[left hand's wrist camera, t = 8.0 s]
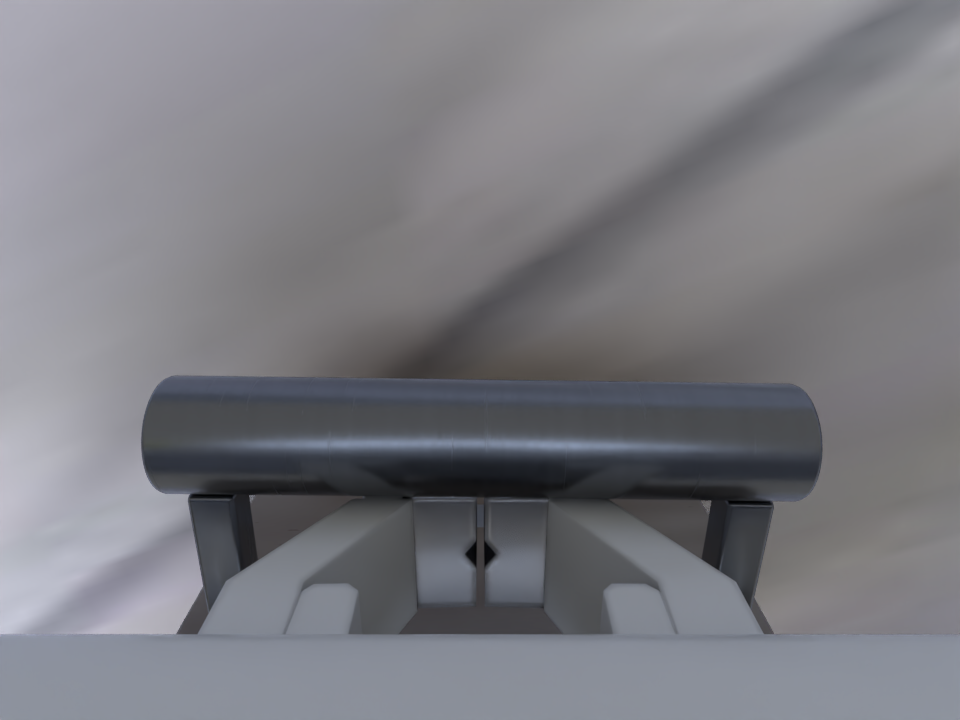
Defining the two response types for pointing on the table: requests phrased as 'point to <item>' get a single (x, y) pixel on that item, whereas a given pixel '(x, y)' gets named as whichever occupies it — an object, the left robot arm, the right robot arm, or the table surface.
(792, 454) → the drawer
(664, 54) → the table surface
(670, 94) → the table surface
